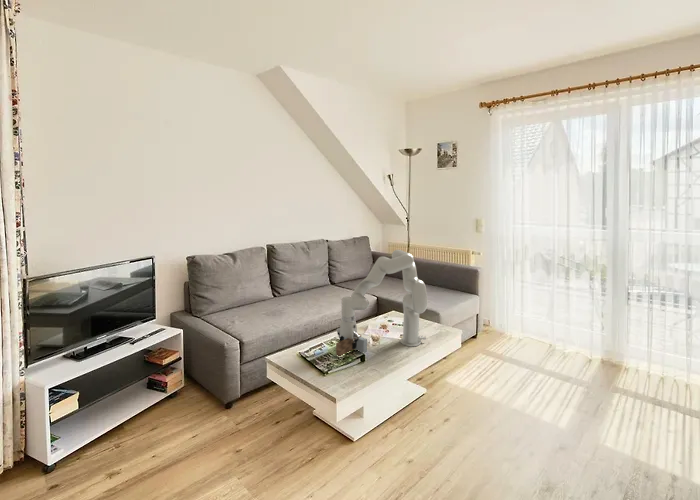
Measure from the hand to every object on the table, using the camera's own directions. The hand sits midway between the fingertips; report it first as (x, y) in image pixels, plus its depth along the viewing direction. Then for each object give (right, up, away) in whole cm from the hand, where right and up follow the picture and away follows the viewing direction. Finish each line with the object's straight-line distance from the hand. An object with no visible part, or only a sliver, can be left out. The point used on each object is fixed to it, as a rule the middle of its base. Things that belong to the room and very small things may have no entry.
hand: (347, 346), depth 227 cm
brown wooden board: (+1, -4, +1) cm, 4 cm away
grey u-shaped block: (+4, -3, +5) cm, 7 cm away
